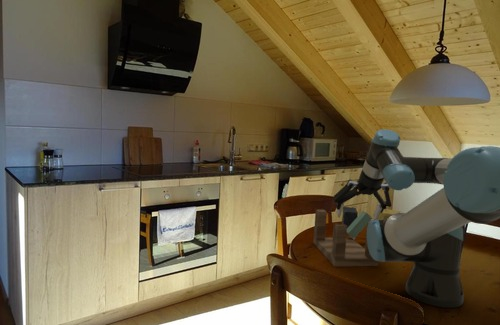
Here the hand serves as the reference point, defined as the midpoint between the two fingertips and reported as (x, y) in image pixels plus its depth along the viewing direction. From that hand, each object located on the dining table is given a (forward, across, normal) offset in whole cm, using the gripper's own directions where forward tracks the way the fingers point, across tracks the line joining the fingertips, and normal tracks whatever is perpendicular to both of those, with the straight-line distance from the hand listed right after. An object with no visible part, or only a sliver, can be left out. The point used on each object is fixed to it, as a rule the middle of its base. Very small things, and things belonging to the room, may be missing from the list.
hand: (356, 216), depth 129 cm
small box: (+33, -10, -22) cm, 41 cm away
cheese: (+33, -28, -24) cm, 50 cm away
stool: (+16, +2, +5) cm, 17 cm away
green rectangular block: (+18, -3, -6) cm, 20 cm away
